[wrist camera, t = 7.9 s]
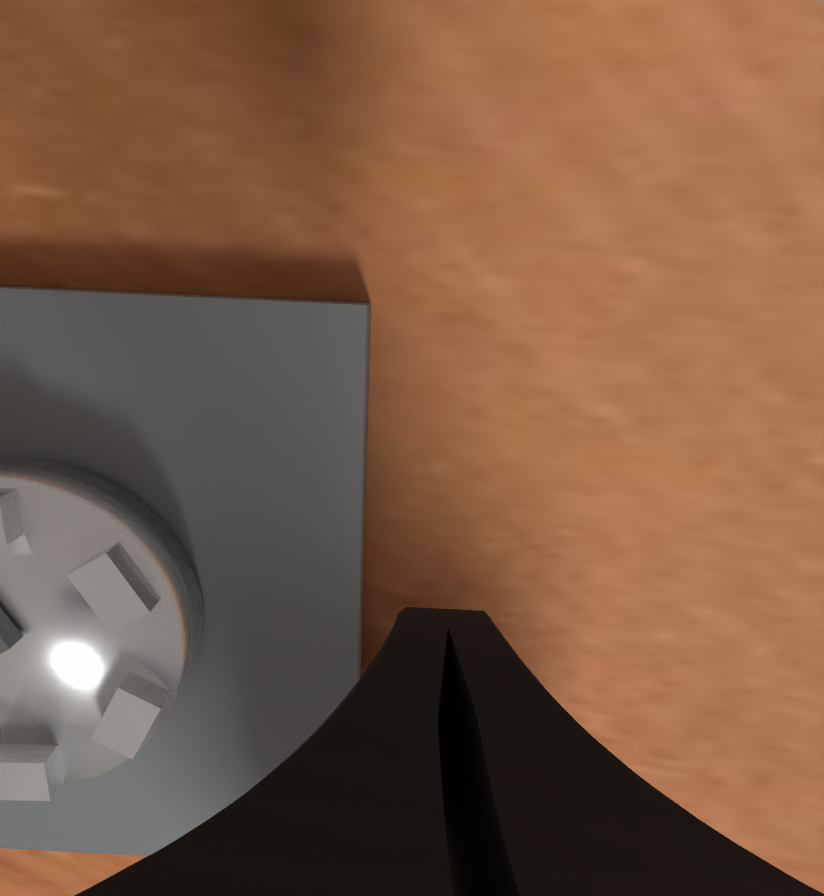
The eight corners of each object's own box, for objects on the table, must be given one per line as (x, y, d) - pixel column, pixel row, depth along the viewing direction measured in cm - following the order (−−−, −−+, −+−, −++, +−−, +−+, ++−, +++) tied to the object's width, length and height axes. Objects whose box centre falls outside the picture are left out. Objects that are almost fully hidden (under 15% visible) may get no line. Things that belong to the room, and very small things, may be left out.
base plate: (356, 836, 23) (352, 869, 21) (-162, 808, 23) (-196, 840, 22) (371, 302, 18) (366, 305, 17) (-281, 272, 18) (-334, 272, 17)
